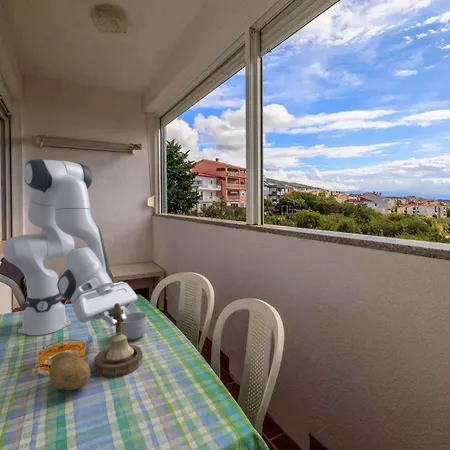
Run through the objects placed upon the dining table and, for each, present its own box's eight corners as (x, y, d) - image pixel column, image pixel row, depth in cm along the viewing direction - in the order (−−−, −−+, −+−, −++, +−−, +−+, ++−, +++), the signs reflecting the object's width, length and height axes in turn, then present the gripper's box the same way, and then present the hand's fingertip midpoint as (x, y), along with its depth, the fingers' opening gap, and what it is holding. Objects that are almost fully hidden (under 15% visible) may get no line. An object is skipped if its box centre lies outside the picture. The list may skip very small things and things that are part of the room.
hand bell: (100, 355, 93) (97, 305, 92) (124, 346, 99) (121, 298, 99) (114, 363, 88) (111, 309, 87) (139, 352, 94) (136, 302, 93)
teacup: (139, 344, 108) (138, 322, 107) (112, 342, 110) (111, 320, 110) (155, 328, 122) (155, 309, 121) (131, 326, 124) (130, 307, 123)
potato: (63, 406, 75) (62, 375, 74) (42, 385, 84) (41, 357, 83) (100, 388, 82) (99, 359, 82) (78, 370, 91) (76, 344, 91)
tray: (93, 359, 98) (93, 350, 97) (138, 349, 104) (137, 341, 103) (95, 382, 85) (95, 371, 85) (145, 369, 91) (145, 360, 91)
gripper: (120, 285, 108) (140, 317, 103) (64, 301, 90) (85, 340, 86) (128, 275, 105) (149, 307, 100) (72, 289, 88) (94, 328, 83)
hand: (119, 322), depth 93 cm, fingers closed on hand bell, 2 cm apart
